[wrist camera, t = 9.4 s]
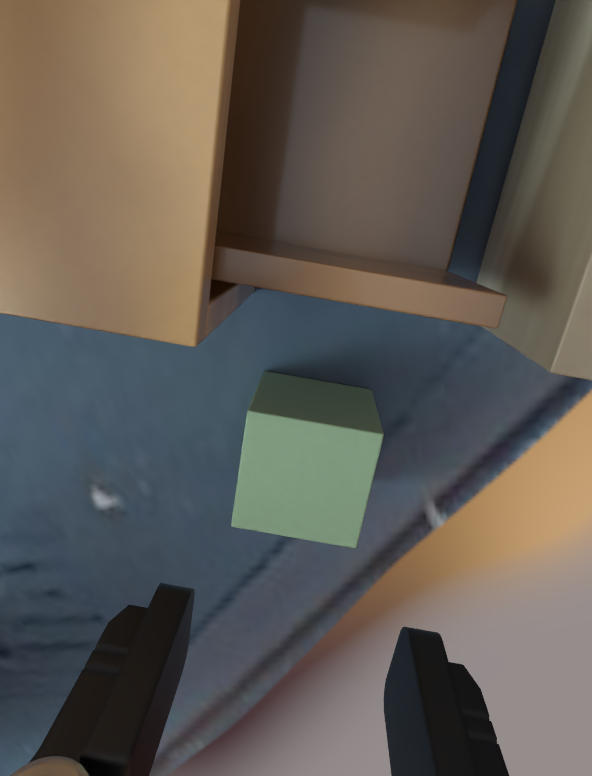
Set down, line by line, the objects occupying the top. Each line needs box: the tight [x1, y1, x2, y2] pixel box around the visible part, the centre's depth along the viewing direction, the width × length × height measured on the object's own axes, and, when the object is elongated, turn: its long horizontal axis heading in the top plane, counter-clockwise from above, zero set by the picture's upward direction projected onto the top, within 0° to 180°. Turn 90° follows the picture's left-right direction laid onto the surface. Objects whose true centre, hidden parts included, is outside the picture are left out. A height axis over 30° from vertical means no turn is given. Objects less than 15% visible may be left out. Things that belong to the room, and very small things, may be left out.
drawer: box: [211, 0, 592, 380], centre depth 13 cm, size 20×12×7 cm, turn 81°
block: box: [231, 371, 384, 548], centre depth 19 cm, size 5×5×5 cm
